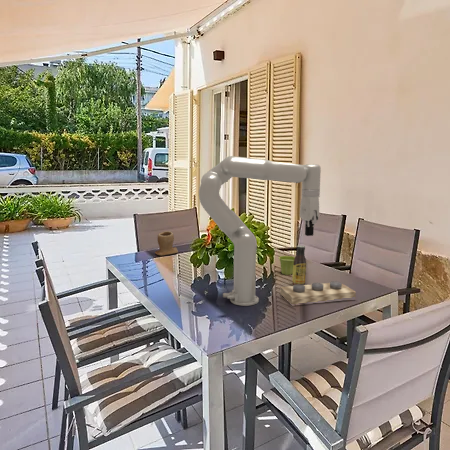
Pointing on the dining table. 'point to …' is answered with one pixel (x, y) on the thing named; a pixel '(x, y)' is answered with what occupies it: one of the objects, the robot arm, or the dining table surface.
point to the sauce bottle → (299, 267)
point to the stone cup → (166, 243)
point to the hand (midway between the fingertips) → (309, 235)
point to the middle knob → (317, 286)
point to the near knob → (298, 288)
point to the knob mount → (316, 294)
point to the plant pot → (287, 264)
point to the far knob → (335, 285)
